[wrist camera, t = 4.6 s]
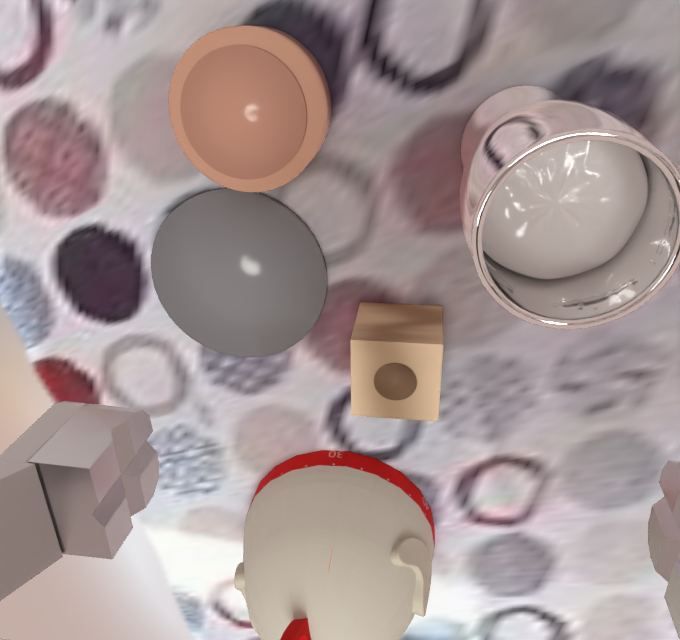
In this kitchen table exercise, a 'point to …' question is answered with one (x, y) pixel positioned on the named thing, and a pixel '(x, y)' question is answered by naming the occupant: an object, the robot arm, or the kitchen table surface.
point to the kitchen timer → (336, 550)
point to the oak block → (397, 361)
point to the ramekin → (249, 107)
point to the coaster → (239, 272)
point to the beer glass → (566, 209)
